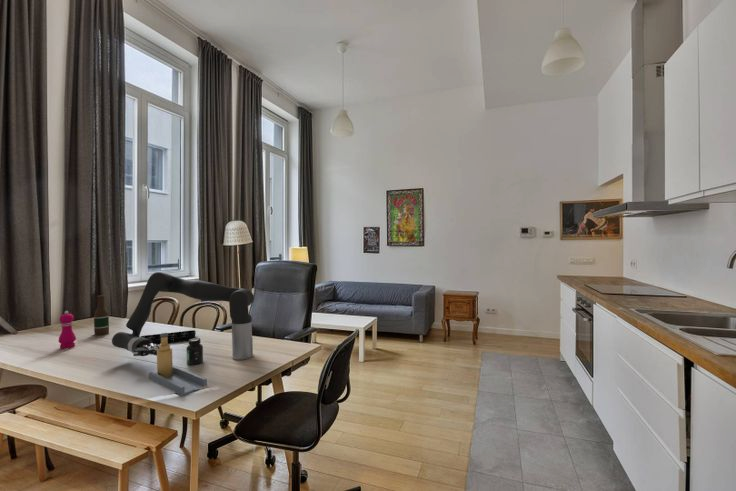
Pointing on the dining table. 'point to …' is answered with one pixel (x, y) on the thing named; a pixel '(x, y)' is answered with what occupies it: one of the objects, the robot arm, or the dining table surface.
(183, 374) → the cradle
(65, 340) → the pepper mill
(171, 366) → the bottle
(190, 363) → the supplement bottle
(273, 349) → the dining table surface
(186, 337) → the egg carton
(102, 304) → the beer bottle
